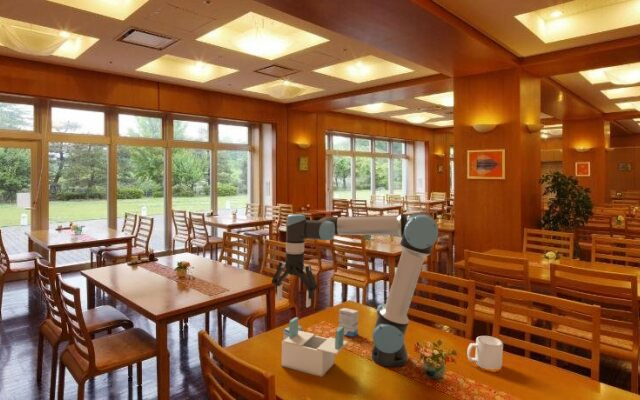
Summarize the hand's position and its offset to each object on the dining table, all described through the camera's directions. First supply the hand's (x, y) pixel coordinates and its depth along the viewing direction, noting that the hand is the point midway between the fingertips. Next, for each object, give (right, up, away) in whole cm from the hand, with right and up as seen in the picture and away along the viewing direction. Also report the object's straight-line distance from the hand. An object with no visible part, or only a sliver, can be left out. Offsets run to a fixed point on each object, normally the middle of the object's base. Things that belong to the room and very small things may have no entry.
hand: (293, 303), depth 162 cm
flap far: (+2, -14, 0) cm, 15 cm away
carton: (+6, -25, -1) cm, 25 cm away
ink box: (+25, -23, +31) cm, 46 cm away
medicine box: (-1, -24, +15) cm, 28 cm away
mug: (+79, -26, +2) cm, 84 cm away
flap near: (+16, -15, -7) cm, 23 cm away
